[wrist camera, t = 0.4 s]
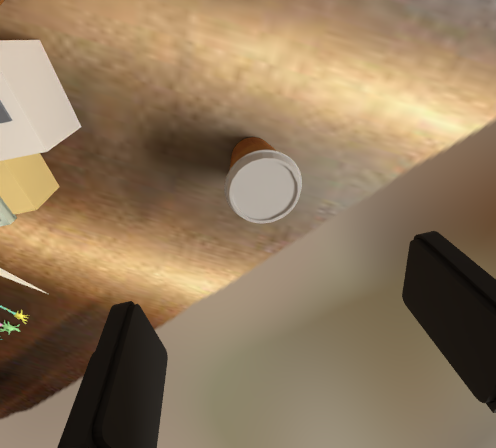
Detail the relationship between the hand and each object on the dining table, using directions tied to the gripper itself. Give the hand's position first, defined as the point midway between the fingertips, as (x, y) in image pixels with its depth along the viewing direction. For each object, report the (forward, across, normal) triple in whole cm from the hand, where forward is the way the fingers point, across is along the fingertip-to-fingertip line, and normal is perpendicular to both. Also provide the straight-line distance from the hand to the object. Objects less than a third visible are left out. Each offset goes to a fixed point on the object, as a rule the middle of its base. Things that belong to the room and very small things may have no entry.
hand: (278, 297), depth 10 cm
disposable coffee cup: (+36, -2, +8) cm, 36 cm away
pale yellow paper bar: (+35, +28, 0) cm, 45 cm away
